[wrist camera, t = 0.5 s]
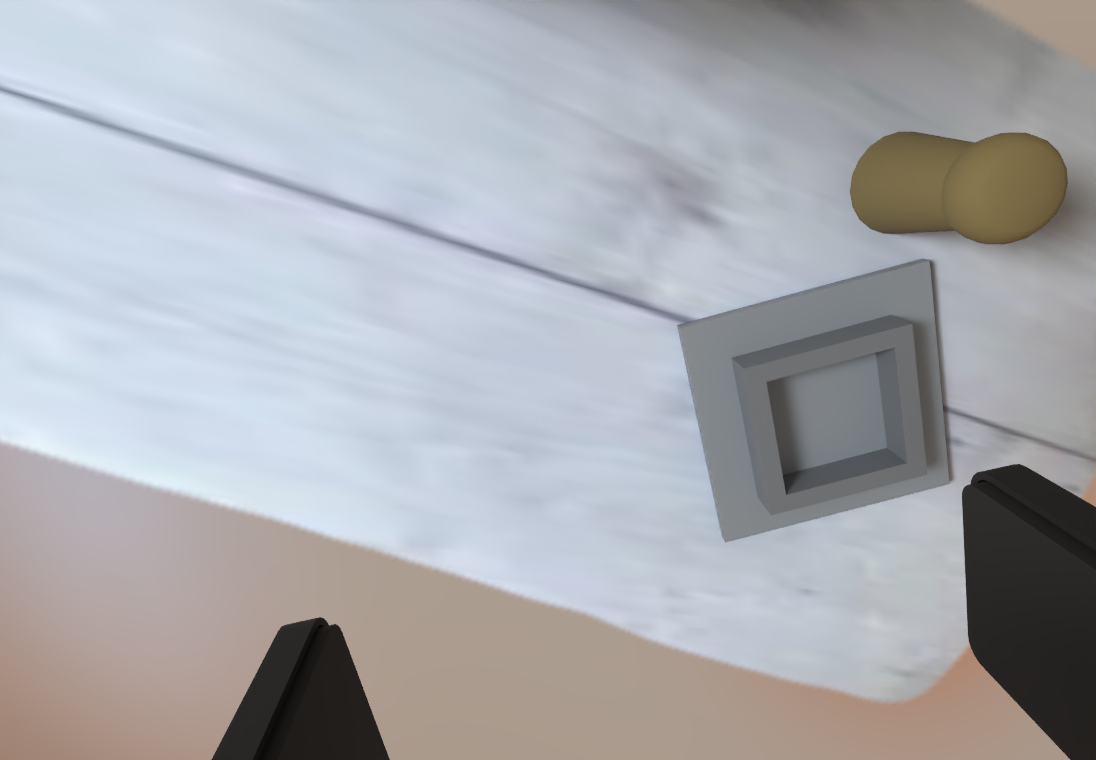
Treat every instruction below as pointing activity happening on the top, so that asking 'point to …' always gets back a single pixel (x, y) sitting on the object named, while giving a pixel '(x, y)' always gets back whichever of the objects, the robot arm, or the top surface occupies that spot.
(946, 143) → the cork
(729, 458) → the bay base
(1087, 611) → the robot arm
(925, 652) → the top surface
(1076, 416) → the top surface
